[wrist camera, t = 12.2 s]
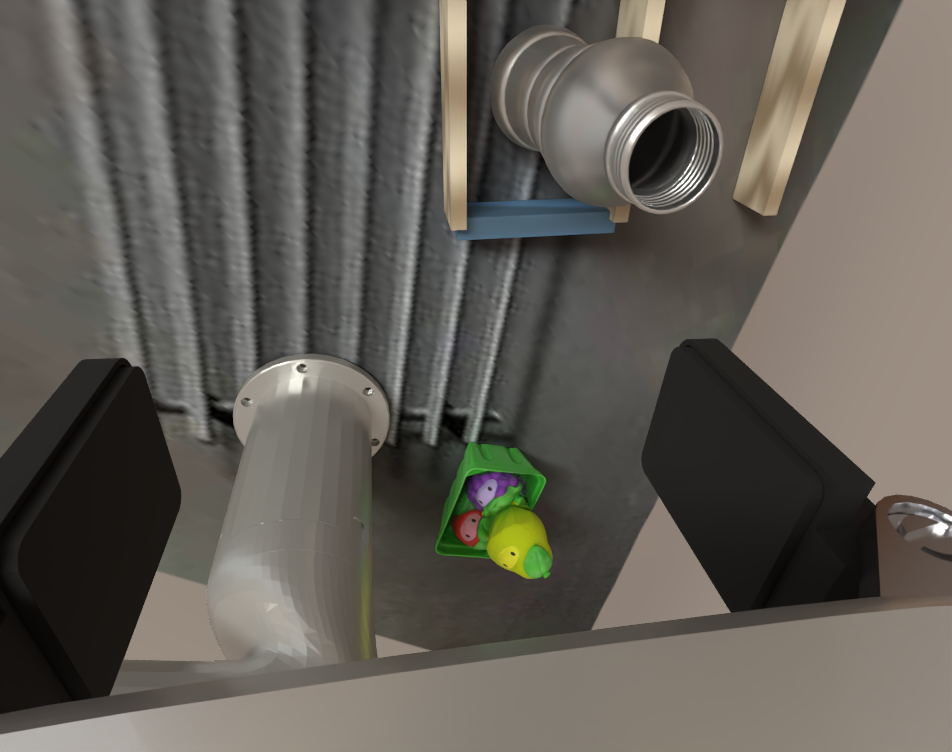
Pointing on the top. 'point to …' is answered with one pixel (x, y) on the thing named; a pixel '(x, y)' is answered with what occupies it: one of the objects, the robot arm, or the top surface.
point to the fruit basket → (496, 512)
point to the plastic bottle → (607, 118)
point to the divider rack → (758, 187)
